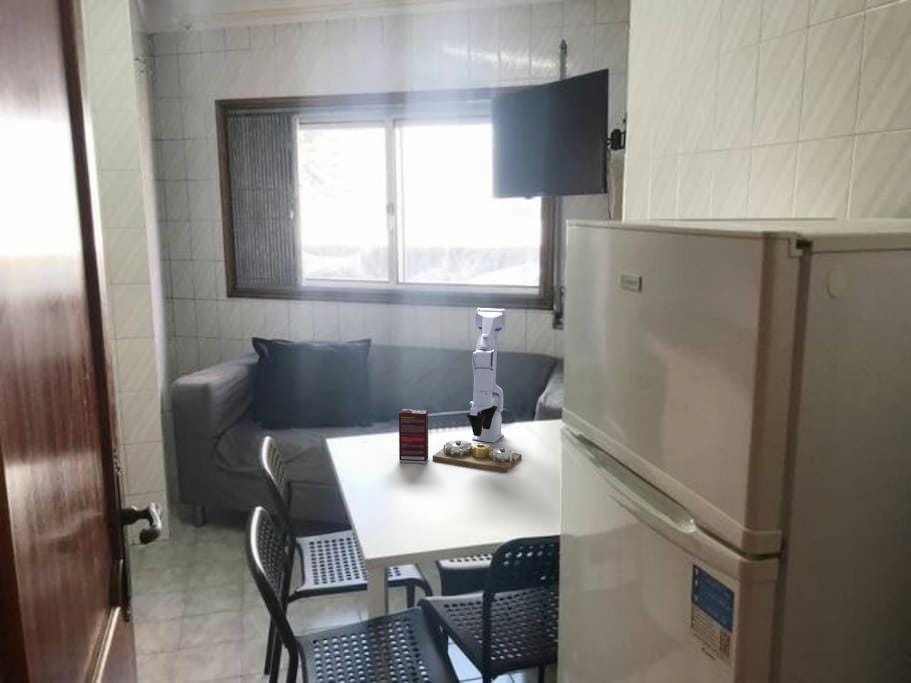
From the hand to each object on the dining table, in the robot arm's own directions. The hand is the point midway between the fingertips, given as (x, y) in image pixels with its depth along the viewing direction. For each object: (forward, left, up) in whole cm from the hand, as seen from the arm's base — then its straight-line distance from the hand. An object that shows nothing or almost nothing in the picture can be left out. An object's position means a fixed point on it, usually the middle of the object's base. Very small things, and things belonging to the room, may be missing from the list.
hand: (481, 432), depth 231 cm
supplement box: (+10, -18, -9) cm, 23 cm away
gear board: (0, -1, -9) cm, 9 cm away
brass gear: (0, 0, -7) cm, 7 cm away
